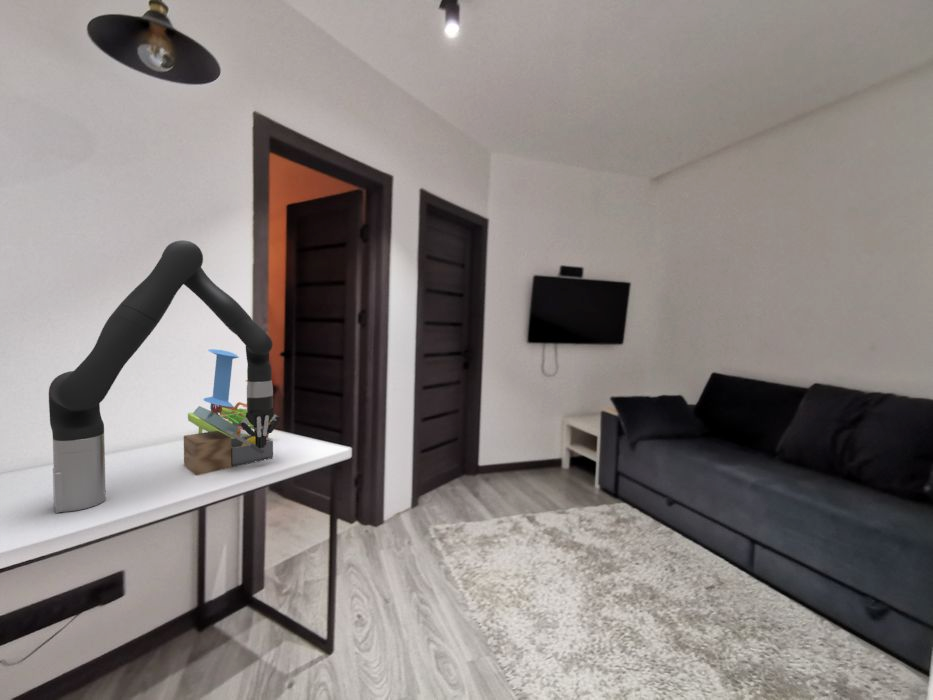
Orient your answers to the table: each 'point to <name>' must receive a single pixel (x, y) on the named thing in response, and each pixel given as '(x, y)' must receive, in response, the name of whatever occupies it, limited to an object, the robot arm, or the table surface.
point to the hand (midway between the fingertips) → (260, 447)
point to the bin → (248, 452)
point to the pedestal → (207, 452)
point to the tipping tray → (222, 425)
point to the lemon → (250, 440)
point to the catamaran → (222, 396)
